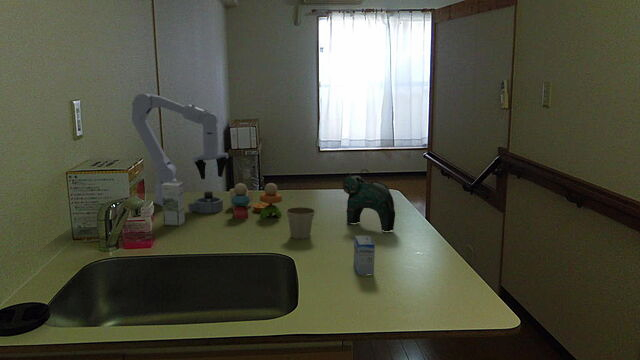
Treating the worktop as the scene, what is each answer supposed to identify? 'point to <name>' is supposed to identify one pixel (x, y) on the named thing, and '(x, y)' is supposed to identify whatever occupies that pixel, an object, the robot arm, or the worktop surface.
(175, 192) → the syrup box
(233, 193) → the beige rounded domed part
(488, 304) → the worktop surface
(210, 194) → the plunger
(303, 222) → the flower pot
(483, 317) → the worktop surface
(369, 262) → the medicine box
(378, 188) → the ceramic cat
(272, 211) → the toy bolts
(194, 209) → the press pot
